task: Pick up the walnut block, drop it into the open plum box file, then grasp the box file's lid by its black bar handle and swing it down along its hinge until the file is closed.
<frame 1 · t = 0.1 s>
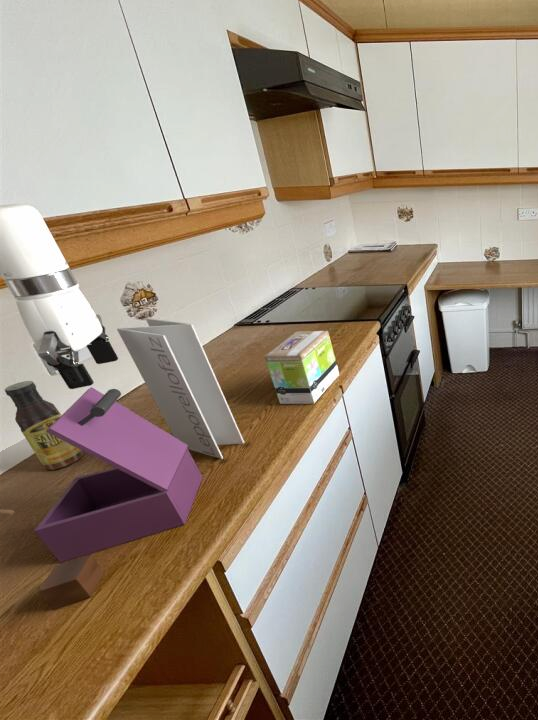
hand: (95, 373, 74), 25 cm above the counter, tool pointing down, fingers open, 9 cm apart
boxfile: (139, 515, 76), on the counter
sauce bottle: (67, 461, 92), on the counter
block: (80, 590, 63), on the counter
brochure: (212, 445, 94), on the counter
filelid: (137, 431, 70), point 17 cm above the counter, hinge at 62.0°
tea box: (312, 389, 113), on the counter
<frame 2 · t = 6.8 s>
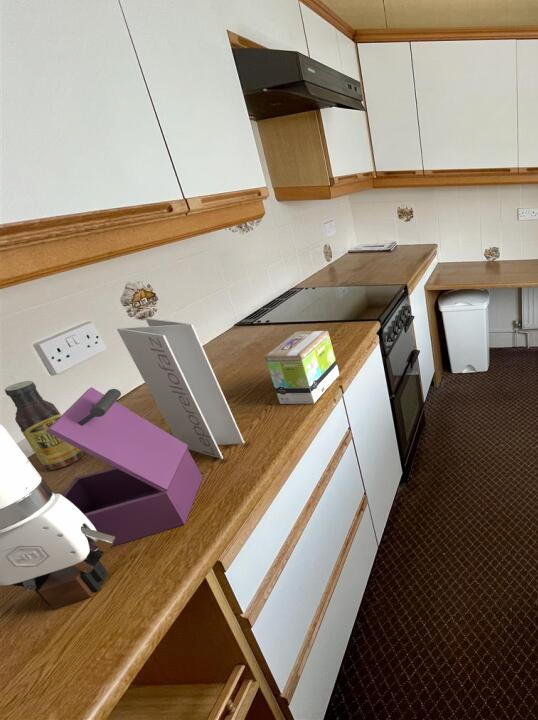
hand: (79, 589, 63), 0 cm above the counter, tool pointing down, fingers closed on block, 4 cm apart
block: (80, 590, 63), on the counter, touching gripper
everything else where it was.
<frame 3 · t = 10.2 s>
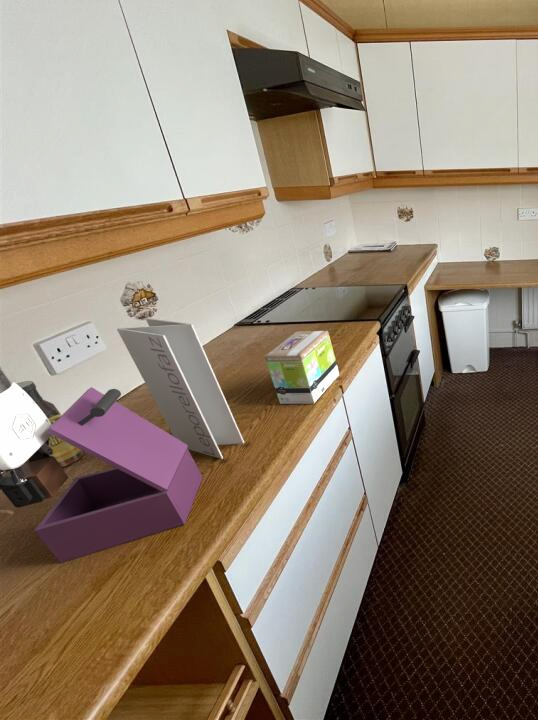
hand: (41, 489, 62), 15 cm above the counter, tool pointing down, fingers closed on block, 4 cm apart
block: (42, 491, 62), point 15 cm above the counter, touching gripper
everything else where it was.
when the fingers open (6 cm above the counter, at t = 14.0 s): block stays where it is, resting on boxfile.
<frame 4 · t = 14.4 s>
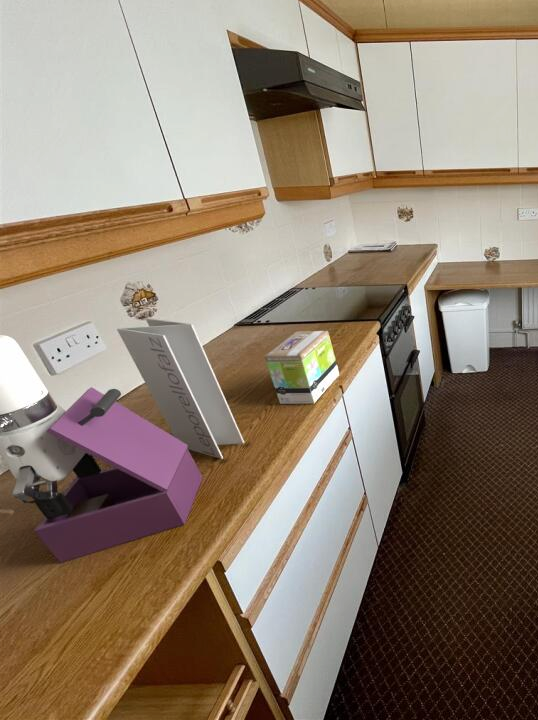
hand: (76, 493, 70), 8 cm above the counter, tool pointing down, fingers open, 9 cm apart
block: (100, 523, 74), point 1 cm above the counter, touching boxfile
everything else where it was.
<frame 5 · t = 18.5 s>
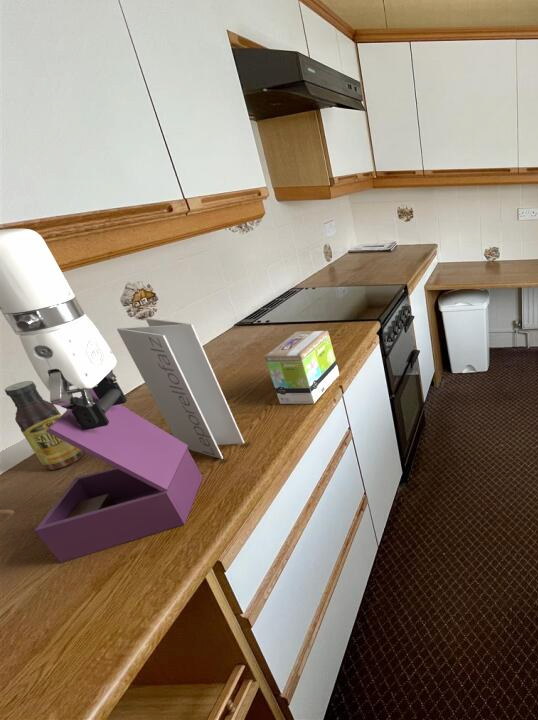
hand: (106, 414, 68), 22 cm above the counter, tool pointing down, fingers closed on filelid, 6 cm apart
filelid: (137, 431, 70), point 17 cm above the counter, hinge at 62.0°, touching gripper
everything else where it was.
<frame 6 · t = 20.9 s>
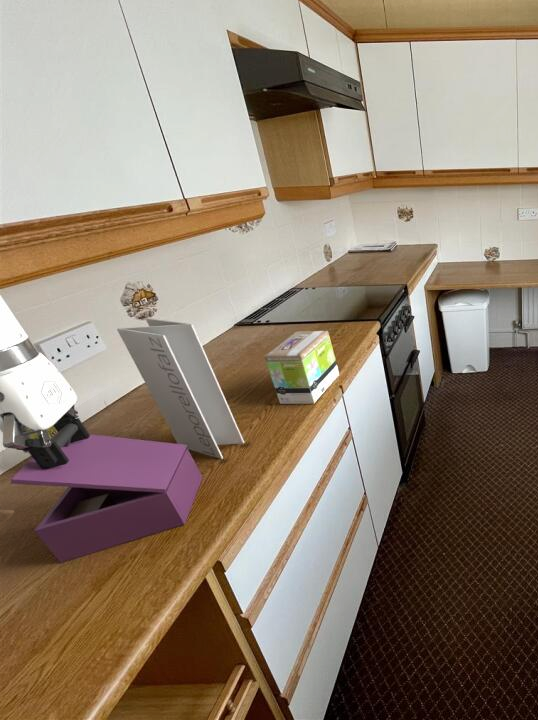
hand: (67, 451, 67), 17 cm above the counter, tool pointing down, fingers closed on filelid, 6 cm apart
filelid: (113, 451, 70), point 15 cm above the counter, hinge at 30.3°, touching gripper
everything else where it was.
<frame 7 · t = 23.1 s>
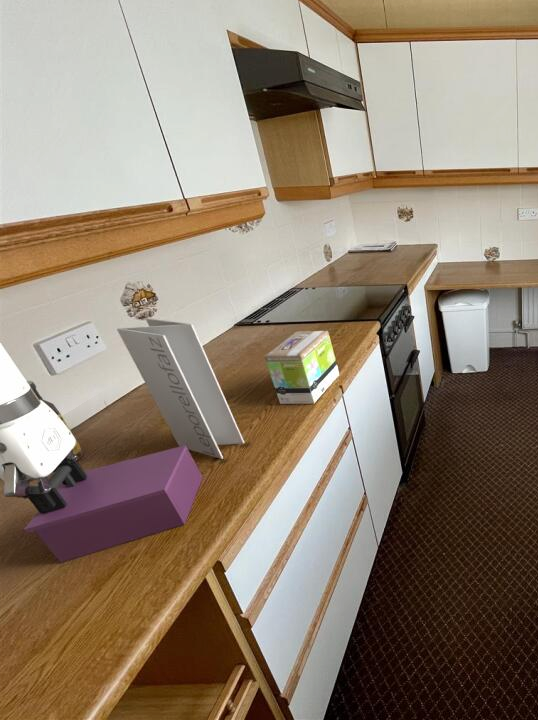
hand: (65, 494, 70), 9 cm above the counter, tool pointing down, fingers closed on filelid, 6 cm apart
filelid: (109, 475, 71), point 10 cm above the counter, hinge at -0.2°, touching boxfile, gripper
everything else where it was.
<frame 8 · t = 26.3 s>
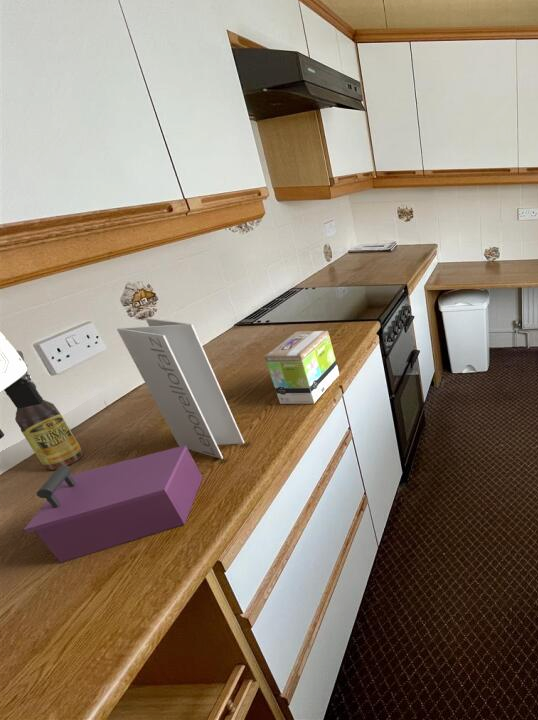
hand: (11, 421, 63), 24 cm above the counter, tool pointing down, fingers open, 9 cm apart
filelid: (109, 475, 71), point 10 cm above the counter, hinge at -0.2°, touching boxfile
everything else where it was.
at the end: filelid at +0° (first picture: +62°); block inside the target area in the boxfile (5.5 cm from its centre), point 0.8 cm above the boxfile's base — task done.
